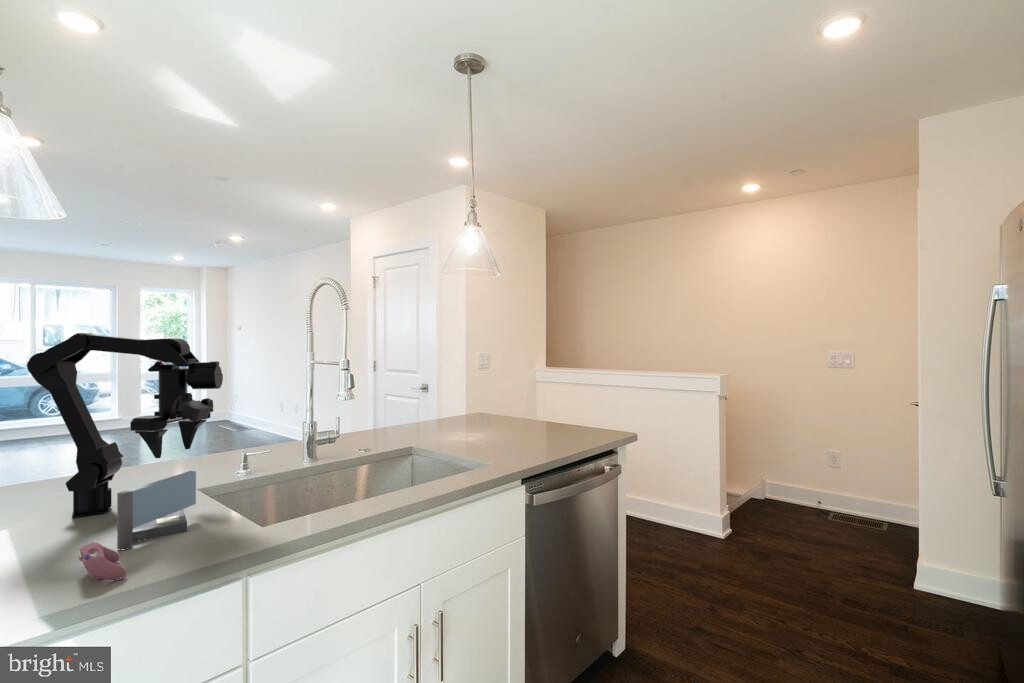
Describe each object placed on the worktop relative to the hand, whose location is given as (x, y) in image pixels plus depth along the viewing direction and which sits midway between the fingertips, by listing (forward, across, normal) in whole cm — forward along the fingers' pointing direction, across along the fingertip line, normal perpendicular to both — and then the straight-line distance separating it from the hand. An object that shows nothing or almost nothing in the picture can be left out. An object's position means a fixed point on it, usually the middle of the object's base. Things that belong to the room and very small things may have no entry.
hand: (173, 453), depth 122 cm
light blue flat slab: (+13, -15, -9) cm, 22 cm away
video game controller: (+14, -33, -14) cm, 38 cm away
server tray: (+13, -11, -4) cm, 18 cm away
